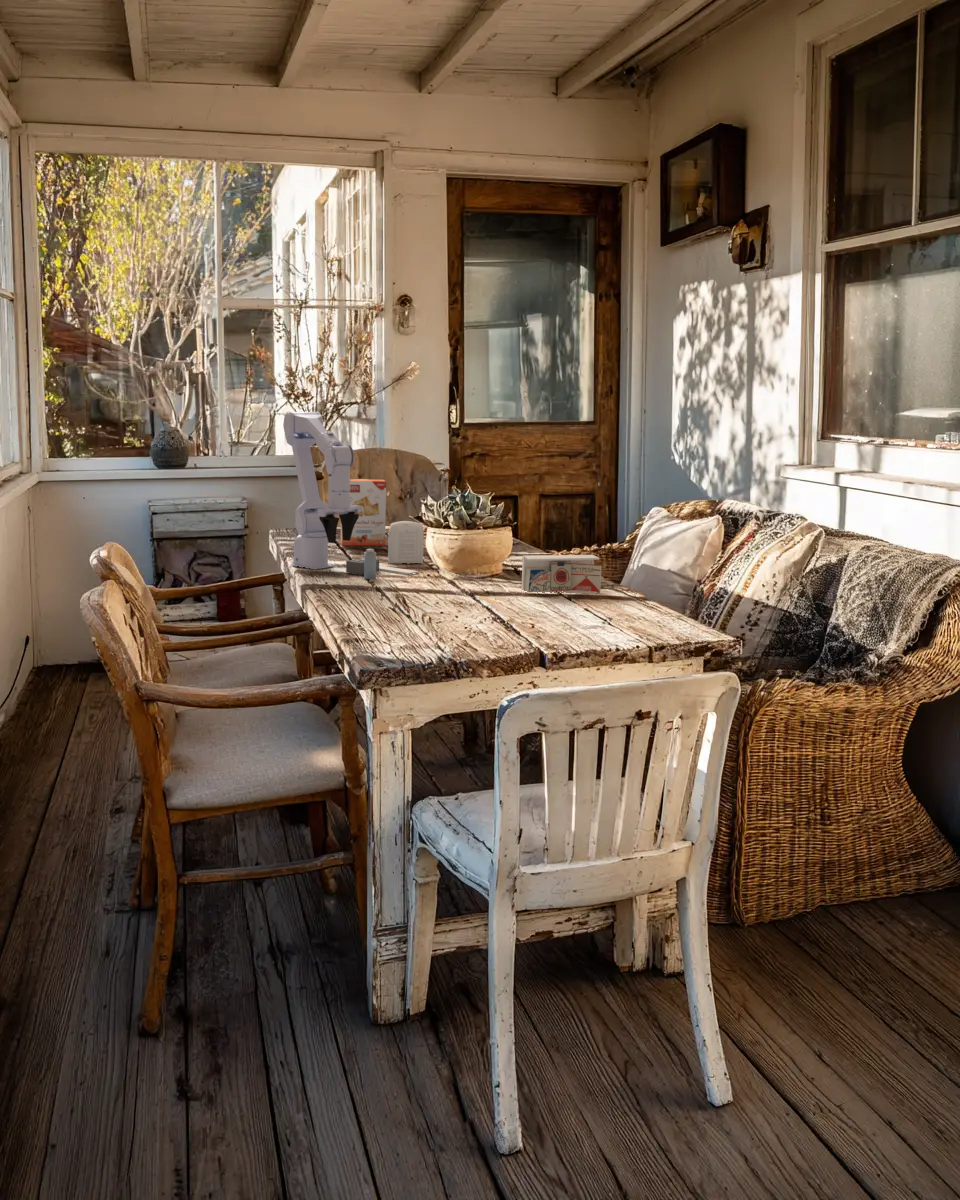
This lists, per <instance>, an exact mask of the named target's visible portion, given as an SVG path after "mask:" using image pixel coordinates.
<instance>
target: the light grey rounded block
mask: <svg viewBox="0 0 960 1200" xmlns="http://www.w3.org/2000/svg"><path fill="white" fill-rule="evenodd" d="M424 533H425V532H424V527H423V524H422V523H419V522H418V521H417V522H416V521H411V520H410V521H409V520H402V521H401V520H400V521H394V522H392V523H390V524H389V529H388V540H387V541H388V543H387V545H388V546H387V549H388V551H387V563H388V564H392V565H393V564H394V565H396V564H399V565H400V564H401V565H403V564H402V563H407V564H406V565H411V564H410V563H423V564H424V544H425V543H424V542H425V541H424V539H425V538H424V537H425V534H424Z"/></svg>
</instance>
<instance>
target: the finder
mask: <svg viewBox="0 0 960 1200" xmlns="http://www.w3.org/2000/svg"><path fill="white" fill-rule="evenodd" d="M345 565H346V567H345V572H349V573H348V574H352V573H354V574H353V575H358V574H359V575H360V574H361V575H364V557H363V558H356V559H355V558H354V559H350V560H349V559H348V560H346V561H345ZM379 565H380V559H377V558H376V573H377V571H378V572H380V571H379Z"/></svg>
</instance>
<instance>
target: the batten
mask: <svg viewBox="0 0 960 1200" xmlns="http://www.w3.org/2000/svg"><path fill="white" fill-rule="evenodd" d="M379 570H380V571H379V572H385V571H387V572H386V573H392V572H394V573H393V574H398V573H403V574H402V575H405V574H413V573H418V574H420V572H419V571H418V570H412V569H406V568H399V567H392V566H388V565H387V566H386V565H380V564H379ZM413 575H414V574H413Z"/></svg>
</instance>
